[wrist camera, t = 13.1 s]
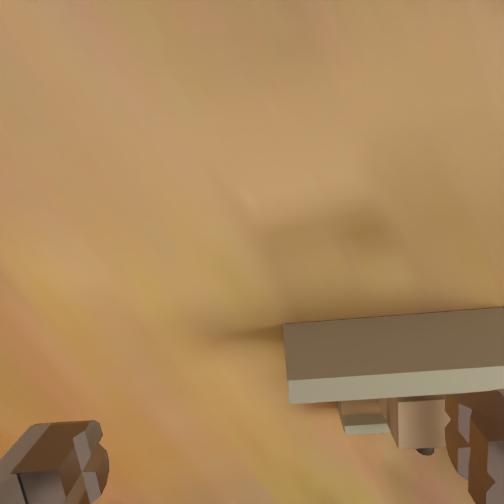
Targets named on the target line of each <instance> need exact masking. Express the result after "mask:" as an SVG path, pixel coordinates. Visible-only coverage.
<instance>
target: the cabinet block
mask: <svg viewBox="0 0 504 504" xmlns="http://www.w3.org/2000/svg"><path fill="white" fill-rule="evenodd" d="M455 394H457V393H455ZM446 396H447V394H439V395H424V396H409V397H393V398H378V405H379V407H380V409H381V411H382V414H383V416H384V418H385V420H386V423H387V425H388V427H389V429H390V431H391V434H392V436H393V438H394V440H395V442H396V445H397V447H398V449H399V450H401V449H416V450H417V451H418V452H419V453H421V454H423V455H432V454H433V453H434V448H436V447H446V442H445V427H446V425H447V424H448V423H449V421H450V420H451V419H450V417H449V416H448V414H447V413H446V411H445V399H446Z"/></svg>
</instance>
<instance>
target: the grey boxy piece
mask: <svg viewBox="0 0 504 504" xmlns="http://www.w3.org/2000/svg"><path fill="white" fill-rule="evenodd" d="M282 327H283V338H284V349H285V360H286V370H287V381H288V392H289V402H290V404H301V403H316V402H332V401H337V406H338V412H339V415H340V419H341V422H342V426H343V429H344V433H345V435H358V434H374V433H391V431H390V429H389V427H388V425H387V423H386V420H385V418H384V416H383V414H382V411H381V409H380V407H379V405H378V398H393V397H409V396H424V395H439V394H455V393H469V392H481V391H493V390H496V389H504V307H499V308H486V309H473V310H460V311H447V312H434V313H421V314H408V315H395V316H382V317H369V318H356V319H343V320H330V321H317V322H304V323H291V324H282Z"/></svg>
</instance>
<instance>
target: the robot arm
mask: <svg viewBox="0 0 504 504" xmlns="http://www.w3.org/2000/svg"><path fill="white" fill-rule="evenodd" d="M445 411H446V413H447V414H448V416H449V417H450V419H451V420H450V421H449V423H448V424H447V425H446V427H445V442H446V447H447V451H448V455H449V457H450V460H451V462H452V464H453V466H454V468H455V470H456V471H457V473H458V474H459V475H461V476H462V477H464V478H465V479H467V480H468V492H469V493H470V495H471V497H472V498H473V500H474V502H475V503H476V504H504V389H496V390H493V391H481V392H469V393H457V394H447V396H446V399H445ZM102 436H103V434H102V430H101V427H100V423H98V422H97V421H95V420H89V421H69V422H56V423H53V422H51V423H38V424H34V425H32V426H30V427H29V428H28V429H27V430H26V432H25V433H24V434H23V435H22V436H21V437H20V438H19V439H18V441H17V442H16V443H15V444H14V445H13V446H12V447H11V448H10V450H9V451H8V452H7V453H6V454H5V455H4V456H3V457H2V459H1V460H0V504H92V503H93V502H94V501H95V500H96V499H98V498H99V497H100V496H101V495H102V493H103V490H104V488H105V486H106V483H107V479H108V474H109V459H108V454H107V451H106V450H105V449H104V448H103V447H102V446H101V445H100V444H99V442H100V440H101V438H102Z"/></svg>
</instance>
